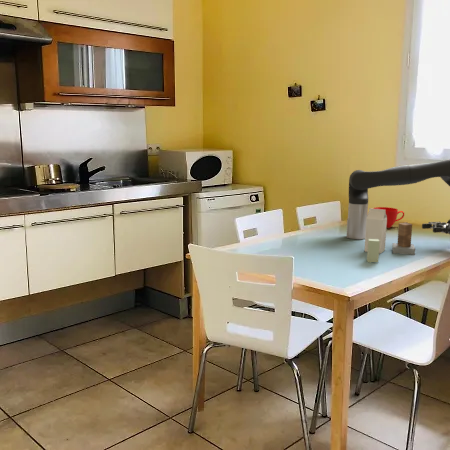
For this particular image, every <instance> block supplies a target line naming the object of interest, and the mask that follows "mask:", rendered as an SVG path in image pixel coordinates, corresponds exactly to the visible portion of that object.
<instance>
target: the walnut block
mask: <svg viewBox="0 0 450 450" xmlns="http://www.w3.org/2000/svg"><path fill="white" fill-rule="evenodd" d="M412 231H413V224H412V223H410V222H408V221H407V222H399V223H398V230H397V232H398V233H397V243H398V244H397V245H398V246H401V247H411V244H412V234H413V232H412Z"/></svg>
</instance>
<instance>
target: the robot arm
mask: <svg viewBox="0 0 450 450" xmlns="http://www.w3.org/2000/svg"><path fill="white" fill-rule="evenodd" d="M432 178H441V180H442V181H443V182H444V183H445V184H446V185H448V187H450V158H448V159H443V160H439V161H433V162H427V163H416V164H414V163H413V164H405V165H399V166H393V167H392V166H391V167H389V168H386V169H382V170H377V171H373V170H372V171H364V170H362V169H355V170H354V171H352V172H351V173H350V175H349V178H348V207H347V208H348V212H347V213H348V214H347V219H346V220H347V221H346V238H347V239H352V240H365V234H366V218H367V215H368V212H369V191H368V190H369V189H373V188H377V187H378V188H379V187H391V186H404V185H412V184H417V183H420V182H424V181H427V180H429V179H432ZM421 229H424V230H426V229H427V230H428V229H431V230H432V233H437V234H438V233H442V234H449V235H450V219H448V220H447V222H444V221H443V222H441V221H428V223H422V224H421Z"/></svg>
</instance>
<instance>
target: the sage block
mask: <svg viewBox="0 0 450 450" xmlns="http://www.w3.org/2000/svg"><path fill="white" fill-rule="evenodd" d="M379 242H380V241H379V240H378V239H368V250H367V252H366V262H367V263H371V262H378V263H379V258H380V257H379V254H380V253H379Z"/></svg>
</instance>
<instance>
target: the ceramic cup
mask: <svg viewBox="0 0 450 450" xmlns="http://www.w3.org/2000/svg"><path fill="white" fill-rule="evenodd" d="M372 209H383V210H386V211H385V212H386V216H387V226H386V229H390V228H392V227H393V226H394V224H395V223H396V222H398V221H402V219H403V218H404V217H405V212H404V211H402V210H400V211H399V210H398V209H397V208H394V207H387V206H385V207H384V206H379V207H378V206H377V207H373V208H372ZM400 213H402V216H401V217H399V218H398V215H399V214H400ZM397 218H398V219H397Z"/></svg>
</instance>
